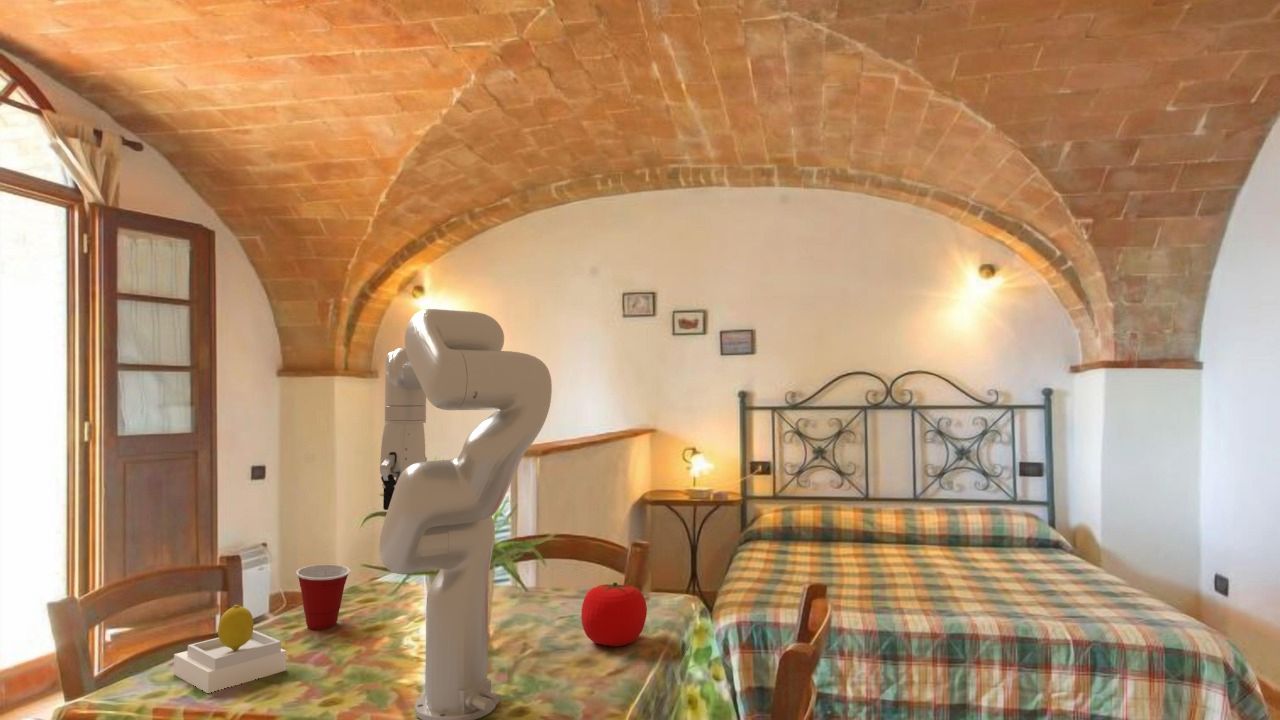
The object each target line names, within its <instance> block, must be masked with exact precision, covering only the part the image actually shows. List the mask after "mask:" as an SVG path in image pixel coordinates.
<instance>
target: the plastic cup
mask: <svg viewBox="0 0 1280 720" xmlns="http://www.w3.org/2000/svg"><path fill="white" fill-rule="evenodd" d="M351 571H352V570H351V568H350V567H348V566H346V565H339V564H332V563H331V564H329V563H326V564H325V563H324V564H323V563H322V564H312V565H307V566H304V567H301V568H299V569H297V570H295V572H296V576H297V578H298V582H299V587H300V591H301V592H300V593H301V599H302V607H303V612H304V615H305V624H306V626H307V628H308V629H310V630H313V631H315V630H316V631H317V630H326V629H330V627H331V628H333V627H335V626H336V625H337V622H338V619H339V614H340V609H341V604H342V600H343V595H344V589H345V585H346V582H347V579H348V576H349V574H350V573H351Z"/></svg>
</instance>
